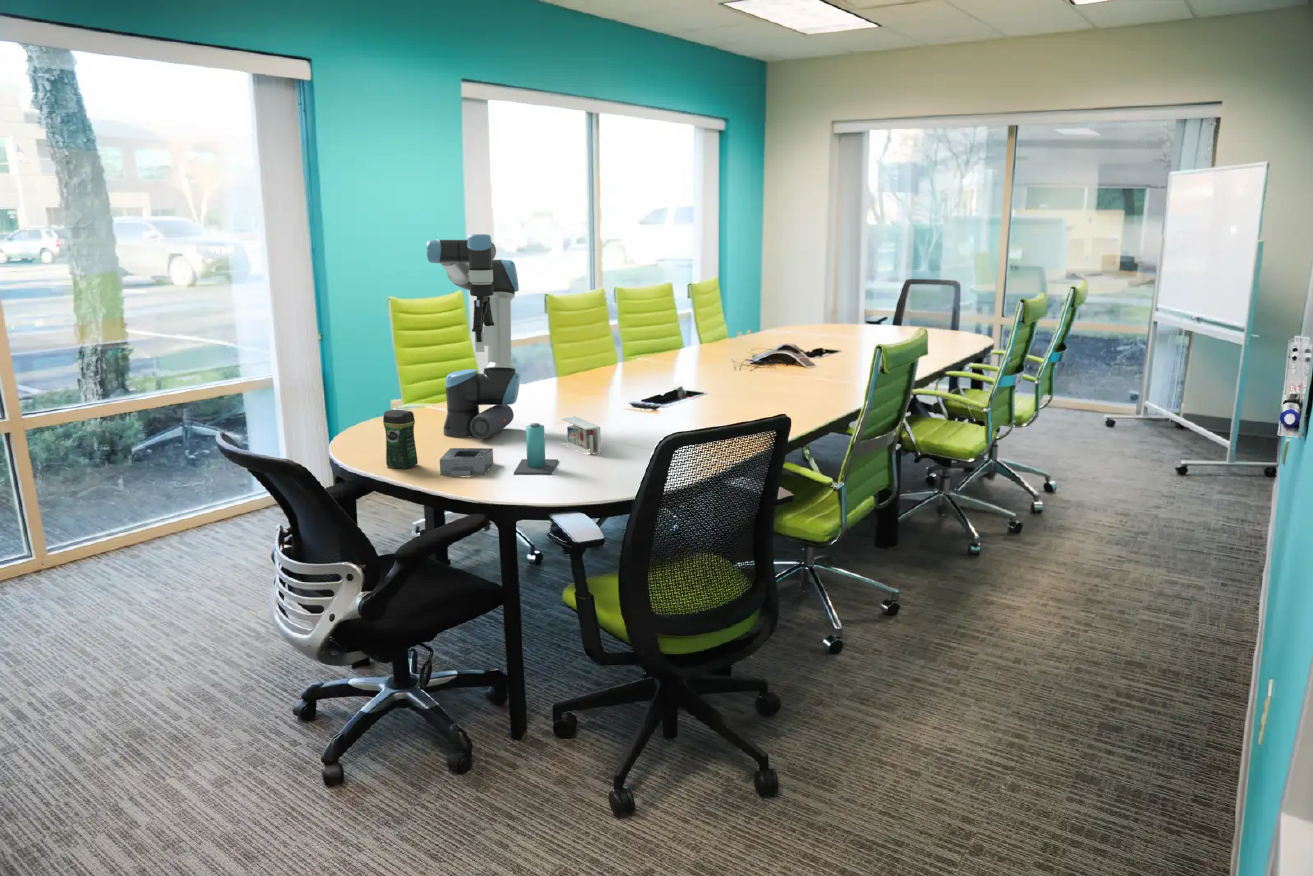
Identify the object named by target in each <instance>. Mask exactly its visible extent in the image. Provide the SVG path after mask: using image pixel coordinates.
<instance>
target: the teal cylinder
mask: <svg viewBox="0 0 1313 876" xmlns="http://www.w3.org/2000/svg"><path fill="white" fill-rule="evenodd" d="M525 438H526V441H525V442H526V459H527V466H528V467H530V468H542V467H544V466H545V459H546V447H545V445H546V442H545V440H546V439H545V425H543V424H540V423H539V422H534V423H533V422H532V423H530V424H529V425H526V426H525Z"/></svg>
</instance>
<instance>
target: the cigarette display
mask: <svg viewBox="0 0 1313 876" xmlns="http://www.w3.org/2000/svg"><path fill="white" fill-rule="evenodd" d="M561 420H562V421H564V422H566V423H569V424H572V425H569V426H567V427H566V430H567V433H566V434H567V442H562V445H564V444H565V445H564V446H566V447H568V448H570V449H572V450H574V449H576V450H578V451H577V452H578V453H581V454H583V453H590V454H592V455H594V454H593V453H598V454H600V453H601V451H602V447H601V446H602V445H601V444H602V442H601V441H602V440H601V439H602V437H601V436H602V435H601V426H600V425H598V424H595V423H593V422H591V421H588V420H585V419H583V418H581V417H578V416H569V417H563V418H561ZM589 449H590V450H589ZM576 450H575V451H576Z"/></svg>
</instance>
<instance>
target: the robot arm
mask: <svg viewBox="0 0 1313 876" xmlns="http://www.w3.org/2000/svg"><path fill="white" fill-rule="evenodd" d="M496 253H497V248H496V245H495V244H494V242H492V236H491V235H490V234H485V233H484V234H483V233H478V234H477V233H476V234H468V236H467V239H430V240H428V241H427V242H426V259H427V261H428V262H429V263H432V264H440V265H441V266H442V267H443V269H444V270H445V271H446V274H447V275H446V276H447V278H448V280H450V282H452V284H454V285H455V286H457V287H459V288H462V289H463V290H465V291H469V295H470V296H471V297H476V299H473V321H472V322H473V323H472V324H473V325H472V328H471V331H472V333H474V344H475V345H474V347H475V353H485V346H486V347H487V365H486V366H485V367H483V373H479V372H478V370H477V369H476V368H475V369H472V368H469V369H461V370H457V371H452V372H450V373H448V374H447V375H446V377H445V395H446V396H445V397H446V416H445V421H444V423H443V435H445V436H446V437H451V438H453V437H454V438H468V437H475V436H474V435H473V434H472V432H471V430H470V423H471V421H472V419H473V418H474V417H476V416H477V415H478V414H480V413H481V412H480V406H495V405H509V406H510V405H514V404H516V402H517V399H518V398H519V397H518V396H519V390H520V379H521V377H520V376H521V375H520V374H519V373H518V372H516V368H515V367H514V366H513V364H512V318H511V317H512V314H511V313H512V312H511V311H512V307H511V305H512V304H511V301H512V300H513V299H514V298H515V297H516V295H515V294H516V293H517V292H519V290H520V289H519V288H520V287H519V285H520V284H519V278H518V273H517V268H516V267H517V266H516V263H515V262H514V261H513V260H511V259H502V258H501V259H495V258H496V255H497V254H496Z"/></svg>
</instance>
